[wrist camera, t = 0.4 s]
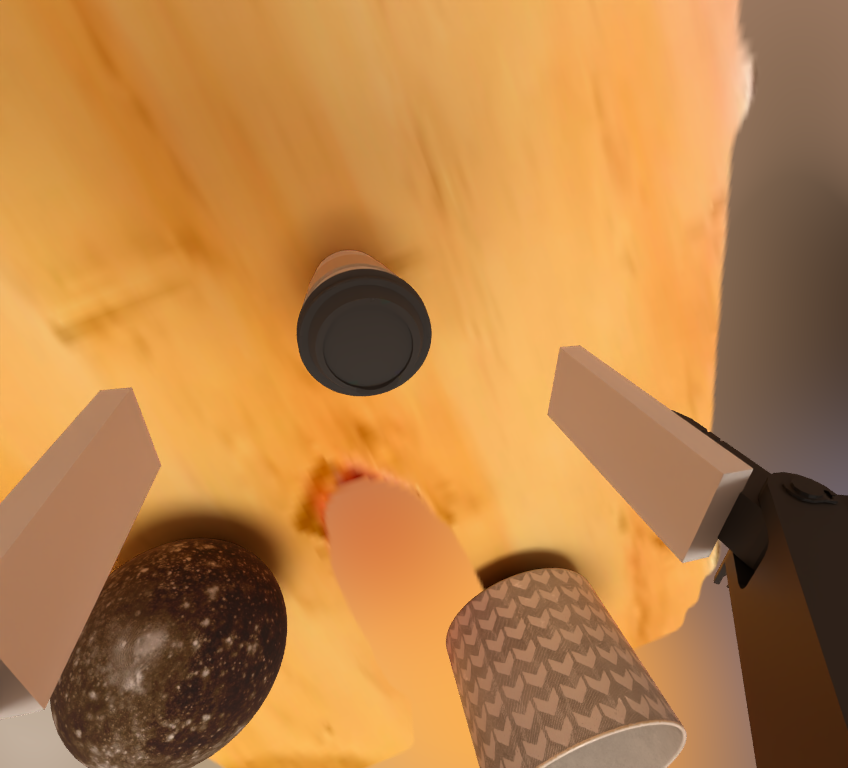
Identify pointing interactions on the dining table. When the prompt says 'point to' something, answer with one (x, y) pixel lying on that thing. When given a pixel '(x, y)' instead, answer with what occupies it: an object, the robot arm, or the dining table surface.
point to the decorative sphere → (172, 657)
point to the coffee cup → (361, 326)
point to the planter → (556, 680)
